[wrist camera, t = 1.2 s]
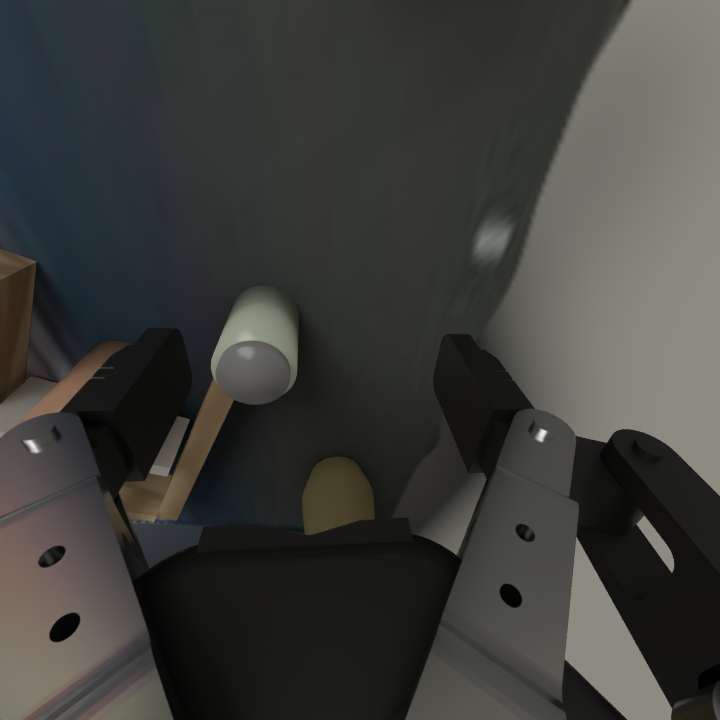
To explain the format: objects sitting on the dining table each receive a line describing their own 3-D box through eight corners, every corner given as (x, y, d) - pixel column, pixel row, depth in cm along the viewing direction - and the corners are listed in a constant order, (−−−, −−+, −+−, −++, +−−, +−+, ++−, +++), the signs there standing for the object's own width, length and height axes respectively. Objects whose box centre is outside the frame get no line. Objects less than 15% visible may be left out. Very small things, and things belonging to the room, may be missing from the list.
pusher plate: (21, 470, 35) (-26, 526, 30) (31, 376, 29) (-24, 426, 24) (158, 496, 40) (137, 548, 35) (190, 419, 34) (170, 468, 29)
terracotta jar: (81, 383, 31) (-1, 476, 22) (91, 330, 28) (3, 414, 20) (154, 403, 33) (103, 495, 25) (169, 356, 30) (119, 441, 22)
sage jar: (223, 329, 30) (197, 394, 22) (245, 273, 27) (224, 327, 20) (283, 352, 32) (277, 418, 24) (309, 302, 29) (310, 360, 22)
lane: (-8, 444, 33) (-52, 488, 29) (1, 248, 24) (-61, 273, 20) (188, 484, 40) (174, 525, 36) (253, 343, 31) (245, 376, 27)
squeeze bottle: (287, 476, 41) (277, 670, 26) (333, 438, 39) (350, 630, 24) (336, 499, 45) (352, 680, 30) (381, 466, 42) (421, 647, 28)
